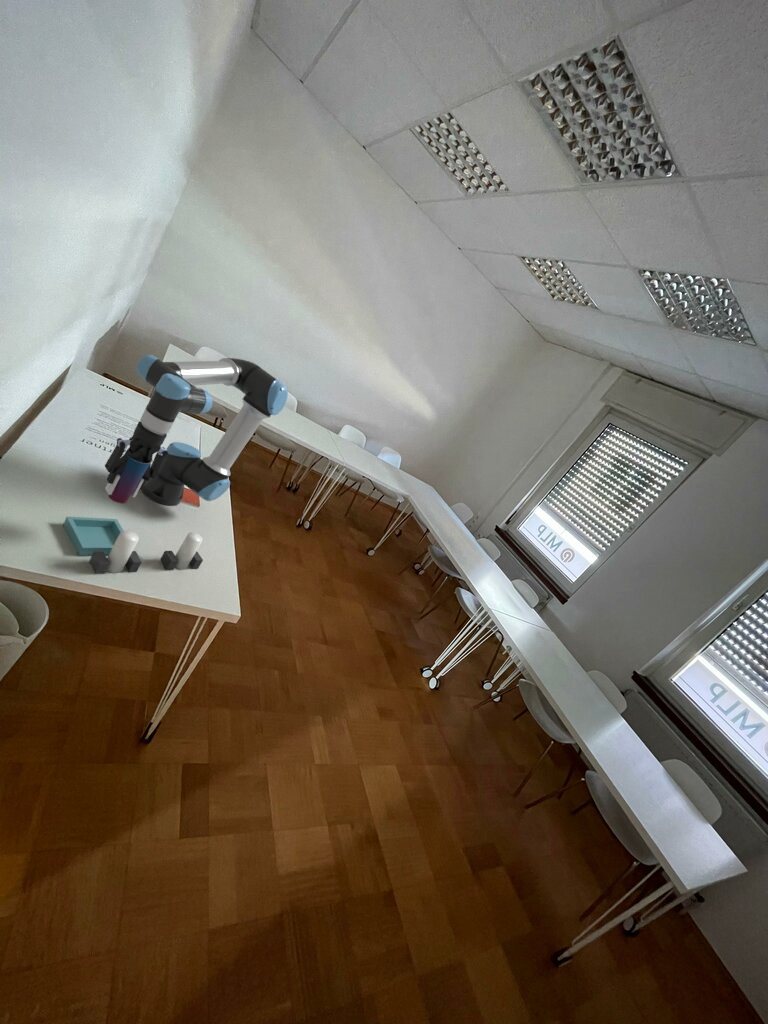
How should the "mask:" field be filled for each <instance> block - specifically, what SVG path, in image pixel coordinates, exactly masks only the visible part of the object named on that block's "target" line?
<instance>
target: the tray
mask: <svg viewBox="0 0 768 1024" xmlns="http://www.w3.org/2000/svg"><path fill="white" fill-rule="evenodd" d="M62 526H63V527H64V530H65V532H66V534H67V535H68V538H69V540H70V542H71V544H72V545H73V548H74V550H75V552H76V554H77V556H78V557H92V555H93V553H94V551H103V552H104V554H105V556H106V557H108V555H109V554H110V552H111V550H112V548H113V546H114V544H115V542H116V540H117V538H118V536H119V534H120V532H121V531H125V530H124V528H123V527H122V526H121V523H120V522H119V520H118V519H117V518H105V517H104V518H101V517H83V516H66V518H65V520H64V522H63V524H62Z"/></svg>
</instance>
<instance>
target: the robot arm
mask: <svg viewBox="0 0 768 1024" xmlns="http://www.w3.org/2000/svg"><path fill="white" fill-rule="evenodd" d="M135 370H136V373H137V375H138V376H139V377H141V379H143V380H144V381H145V383H148V385H150V386H151V387H153V388H154V390H153V391H152V395H151V397H150V399H149V401H148V403H147V405H146V407H145V409H144V411H143V413H142V415H141V417H140V419H139V421H138V423H137V424H136V427H135V429H134V431H133V434H132V436H131V437H130V438H129V439H122V438H121V437H118V438H117V439H116V445H115V448H113V451H112V452H111V454H110V455H109V458H108V459H107V461H106V463H105V464H104V467H105V469H106V471H107V473H108V476H107V478H106V481H107V484H106V486H105V491H106V493H107V495H112V493H113V491H114V489H115V487H116V485H117V483H118V481H119V479H120V475H119V473H120V472H121V471H122V470H123V469H124V468H125V466H126V463H127V461H128V458H126V457H125V452H126V451H127V452H126V453H127V455H128V456H129V457H130V458H132V459H135V458H136V457H137V456H143V463H149V462H150V461H152V462H151V464H150V465H149V467H148V468H147V470H146V472H145V473H144V475H143V477H142V478H141V480H140V481H139V483H138V485H137V486H136V488H135V489H134V491H133V493H132V494H131V497H132V498H136V496H137V495H138V493H139V491H140V488H141V491H142V493H143V494H144V495H145V496H146V497H147V498H148V499H150V500H152V501H154V502H156V503H158V504H162V505H166V506H174V507H175V506H178V505H179V504H180V503H181V502H182V500H183V499H184V490H185V487H187V488H188V489H189V490H191V491H192V492H193V493H195V494H196V495H197V496H198V497H200V498H201V499H203V500H204V501H207V502H211V501H215V500H217V499H219V498H220V497H222V495H224V494H225V493H226V492H227V491H228V489H229V488H230V485H231V481H230V479H229V478H230V476H231V473H232V472H231V471H230V468H231V467H232V466H233V465H234V463H235V461H236V460H237V459H238V457H239V456H240V454H241V453H242V451H243V449H244V448H245V446H246V445H247V443H249V441H250V440H251V438H252V436H253V435H254V433H255V432H256V431H257V429H258V428H259V426H260V425H261V423H262V422H263V420H264V419H269V418H271V416H276V415H278V414H280V412H282V410H283V409H284V407H285V405H286V403H287V400H288V389H287V387H286V386H285V385H284V384H283V383H282V382H281V381H280V380H278V379H277V378H276V377H274V376H272V375H271V374H270V373H268V372H267V371H266V370H265V369H263V368H262V367H260V366H259V365H258V364H256V363H254V362H253V361H250V360H246V359H241V358H234V357H224V358H221V359H219V360H215V361H214V360H208V361H207V360H206V361H205V360H204V361H162V360H161V359H160V358H158V357H156V356H155V355H153V354H147V355H144V356H143V357H141V358H140V359H139V360H138V362H137V365H136V369H135ZM219 384H222V385H224V386H227V387H234V388H236V389H238V390H239V391H240V392H241V393H243V394H244V396H243V397H242V407H241V408H240V410H239V411H238V413H237V414H236V416H235V417H234V419H233V420H232V422H231V423H230V425H229V426H228V428H227V429H226V430H225V432H224V434H223V435H222V436H221V438H220V440H219V442H218V443H217V444H216V446H215V447H214V448H213V450H212V451H211V454H209V456H206V457H203V458H201V457H202V452H201V451H200V450H199V449H198V448H196V446H195V447H194V446H193V445H190V444H187V443H184V442H178V441H174V442H171V443H169V444H168V446H167V447H166V448H165V447H162V445H163V443H164V442H165V439H166V438H167V434H169V433H170V430H171V429H172V426H173V424H174V422H175V420H176V419H177V417H178V415H179V413H181V414H183V413H184V414H185V413H186V414H194V415H199V414H201V415H202V414H206V413H208V412H209V411H210V410H211V409H212V408H213V407H212V406H213V404H214V403H213V398H212V394H210V392H209V391H208V390H207V389H204V388H201V387H196V386H207V385H219ZM128 446H129V447H128ZM154 454H155V456H154V458H153V455H154Z"/></svg>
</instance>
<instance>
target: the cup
mask: <svg viewBox="0 0 768 1024" xmlns="http://www.w3.org/2000/svg"><path fill="white" fill-rule="evenodd" d="M126 452H127V450H125V451H124V454H125V457H126V458H128V461H127V463H126V466H125V468H124V469H123V470H122V471H121V472H120V473H119V475H120V479H119V481H118V483H117V485H116V487H115V489H114V491H113V493H112V495H109V494H107V495H108V498H109V499H110V500H111V501H113V502H114V503H117V504H126V503H127V502H128V501H129V499H130V497H132V495H131V494H132V493H133V491H134V489H135V488H136V486H137V485H138V483H139V481H140V480H141V478H142V477H143V475H144V473H145V472H146V470H147V468H148V467H149V465H150V464H151V465H152V463H153V460H152V461H150V462H149V463H143V456H137V457H136V458H135V459H132V458H130V457H129V456H128V455H127V453H126Z"/></svg>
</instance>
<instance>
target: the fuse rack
mask: <svg viewBox="0 0 768 1024" xmlns="http://www.w3.org/2000/svg"><path fill="white" fill-rule="evenodd" d="M139 539H140V536H139V535H138V534H137V533H136V532H133V531H131V530H126V529H125V530H124V531H121V532H120V534H119V536H118V538H117V540H116V542H115V544H114V546H113V548H112V550H111V552H110V554H109V555H108V556H105V554H104V552H103V551H94V553H93V555H92V556H90V559H89V561H88V564H89V565H90V568H91V570H92V571H93V573H94V575H103V574H105V573H106V572H109V573H111V572H112V573H111V574H119V573H122V571H124V570H123V569H124V568H125V569H126V570H127V571H126V572H128V573H137V572H138V571H139V569H140V567H141V565H142V564H143V561H142V560H141V558H140V556H139V555H138V553H137V551H136V550H134V549H135V548H136V546H137V544H138V542H139ZM203 540H204V538H203V537H202V535H200V534H199V533H196V532H188V533H187V535H186V537H185V538H184V540H183V542H182V544H181V545H180V547H179V548H178V551H177V553H174V552H173V551H172V550H164V552H163V553H162V555H161V557H160V558H159V561H160V562H161V564H162V566H163V567H164V569H165V571H174V569H178V570H186V569H188V566H189V567H190V569H191V570H198V569H200V566H201V564H202V563H203V561H204V559H203V558H202V556H201V554H200V553H199V552H198V550H199V548H200V546H201V544H202V542H204V541H203Z"/></svg>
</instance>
